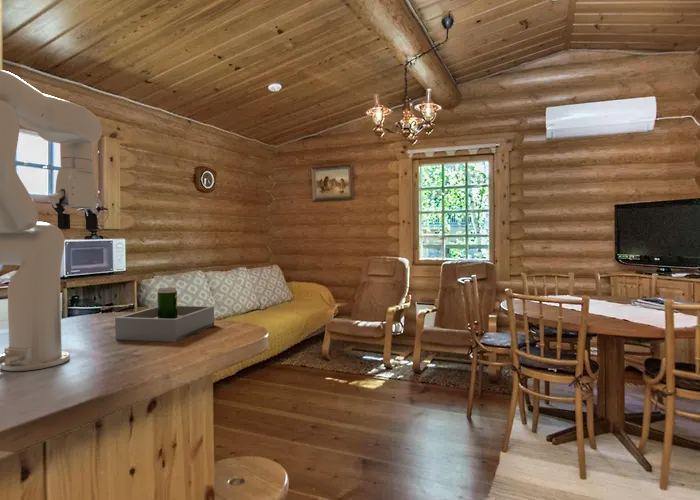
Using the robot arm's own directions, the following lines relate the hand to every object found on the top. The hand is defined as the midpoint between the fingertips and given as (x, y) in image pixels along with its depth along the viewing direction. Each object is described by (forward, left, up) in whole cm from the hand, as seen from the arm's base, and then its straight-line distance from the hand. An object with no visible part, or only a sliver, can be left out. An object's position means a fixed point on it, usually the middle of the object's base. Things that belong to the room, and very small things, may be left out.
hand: (78, 229), depth 119 cm
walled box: (+12, -19, -30) cm, 38 cm away
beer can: (+12, -19, -30) cm, 37 cm away
